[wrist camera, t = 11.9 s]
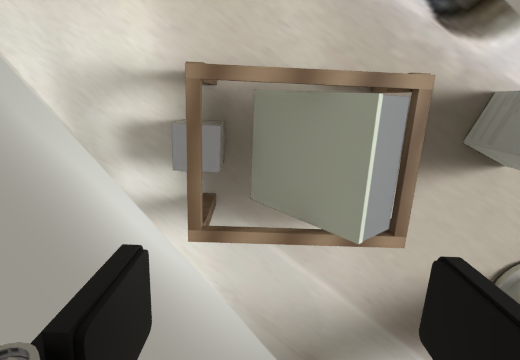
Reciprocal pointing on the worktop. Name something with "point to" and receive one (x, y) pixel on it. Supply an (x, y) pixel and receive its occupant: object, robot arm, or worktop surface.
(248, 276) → the worktop surface
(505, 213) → the worktop surface
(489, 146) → the supplement box
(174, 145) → the grey near-cubic block
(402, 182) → the frame
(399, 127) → the trapdoor
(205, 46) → the worktop surface
